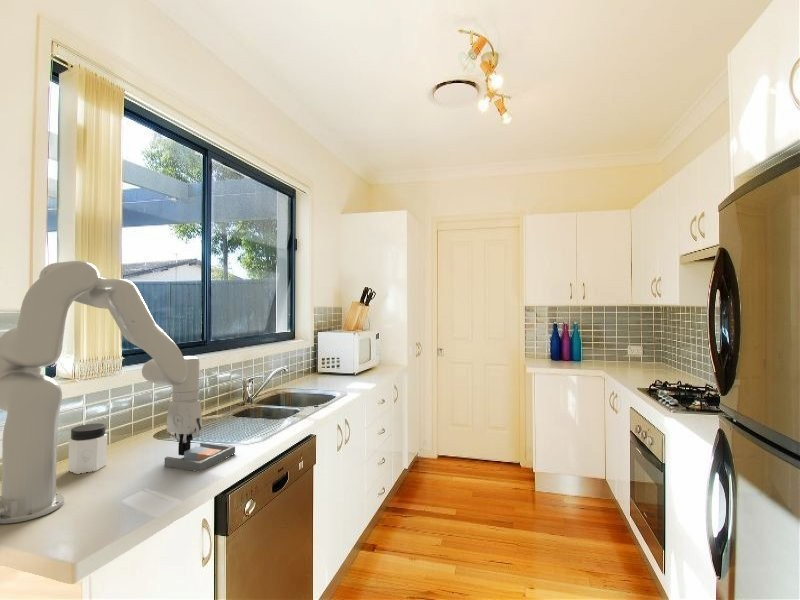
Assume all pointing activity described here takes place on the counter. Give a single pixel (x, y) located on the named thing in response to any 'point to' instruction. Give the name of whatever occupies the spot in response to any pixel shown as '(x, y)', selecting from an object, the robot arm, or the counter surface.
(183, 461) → the tray
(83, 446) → the jar
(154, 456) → the counter surface
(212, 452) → the tile
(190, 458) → the tile
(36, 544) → the counter surface
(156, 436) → the counter surface
